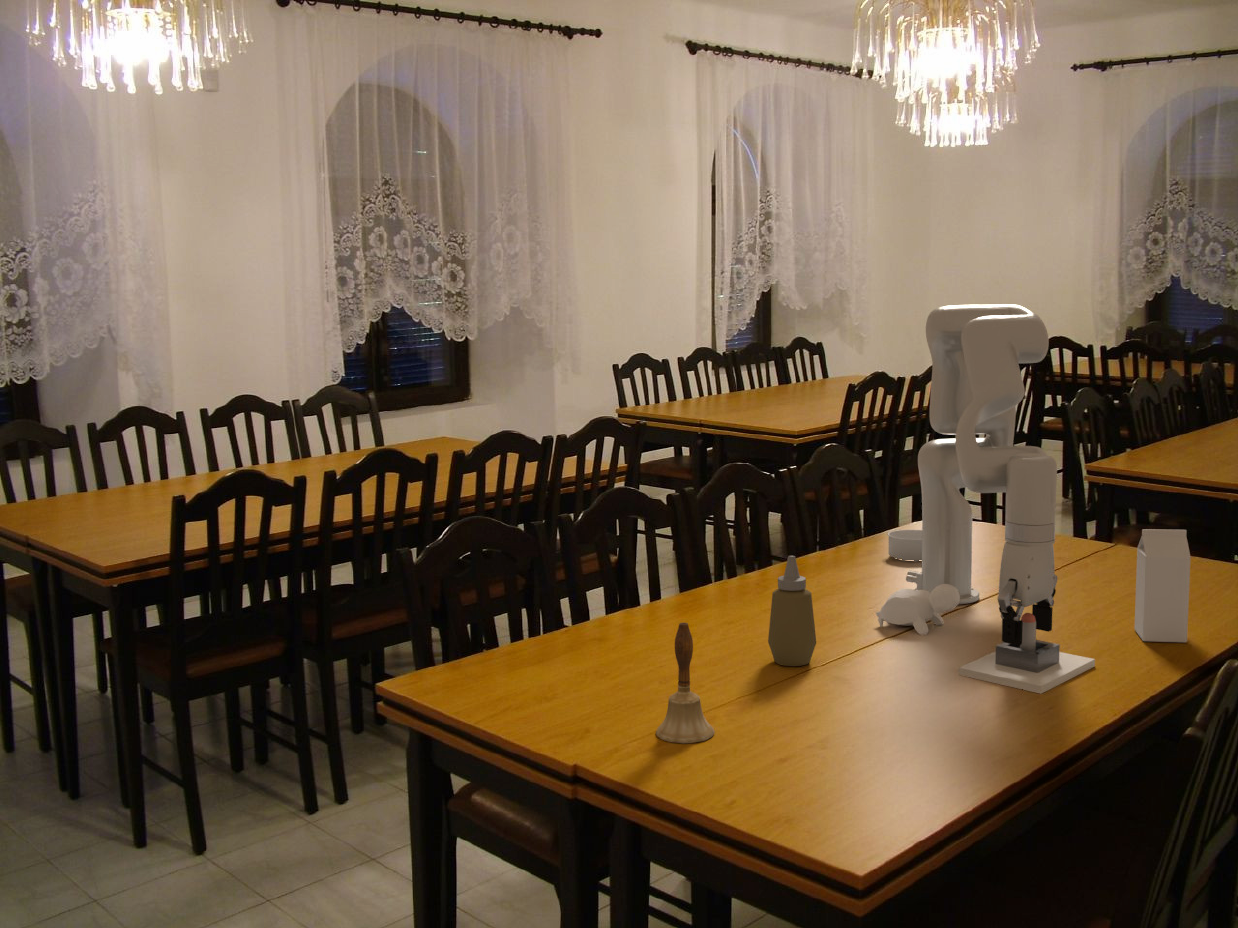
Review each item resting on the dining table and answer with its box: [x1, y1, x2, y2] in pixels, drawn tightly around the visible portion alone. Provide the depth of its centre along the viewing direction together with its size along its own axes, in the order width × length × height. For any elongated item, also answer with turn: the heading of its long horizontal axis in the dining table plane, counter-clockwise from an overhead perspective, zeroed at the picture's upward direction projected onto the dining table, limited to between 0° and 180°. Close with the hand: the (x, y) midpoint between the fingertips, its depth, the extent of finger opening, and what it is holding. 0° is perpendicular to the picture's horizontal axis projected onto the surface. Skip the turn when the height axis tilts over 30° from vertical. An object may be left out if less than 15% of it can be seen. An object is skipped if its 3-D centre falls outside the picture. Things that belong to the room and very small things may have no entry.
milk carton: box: [1134, 528, 1191, 643], centre depth 213 cm, size 7×7×19 cm
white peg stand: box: [958, 612, 1096, 695], centre depth 198 cm, size 14×18×10 cm
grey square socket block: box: [995, 639, 1060, 673], centre depth 198 cm, size 7×7×3 cm
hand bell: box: [655, 622, 716, 744], centre depth 174 cm, size 8×8×16 cm
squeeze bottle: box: [767, 555, 817, 667], centre depth 205 cm, size 8×8×18 cm
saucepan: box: [886, 529, 922, 561], centre depth 276 cm, size 12×20×6 cm, turn 43°
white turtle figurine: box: [875, 584, 960, 636], centre depth 223 cm, size 9×8×15 cm
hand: (1027, 636), depth 198 cm, fingers open, 9 cm apart
